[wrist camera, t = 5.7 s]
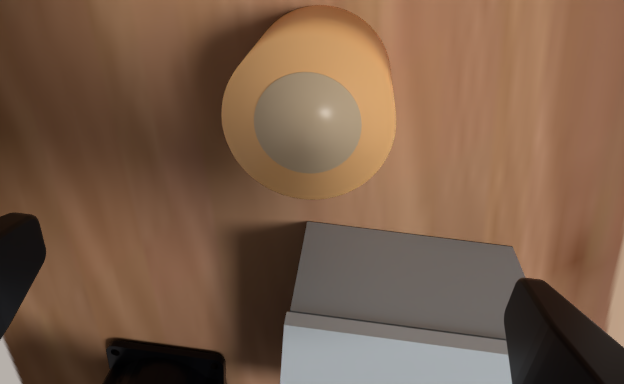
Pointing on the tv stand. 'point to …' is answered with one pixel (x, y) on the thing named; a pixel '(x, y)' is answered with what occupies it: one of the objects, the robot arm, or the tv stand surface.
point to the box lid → (386, 354)
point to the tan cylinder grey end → (312, 105)
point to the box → (405, 280)
